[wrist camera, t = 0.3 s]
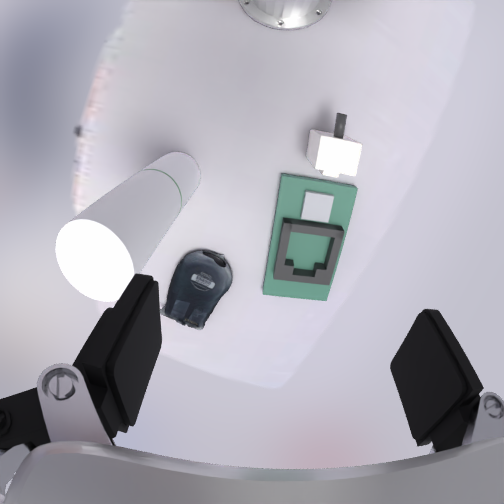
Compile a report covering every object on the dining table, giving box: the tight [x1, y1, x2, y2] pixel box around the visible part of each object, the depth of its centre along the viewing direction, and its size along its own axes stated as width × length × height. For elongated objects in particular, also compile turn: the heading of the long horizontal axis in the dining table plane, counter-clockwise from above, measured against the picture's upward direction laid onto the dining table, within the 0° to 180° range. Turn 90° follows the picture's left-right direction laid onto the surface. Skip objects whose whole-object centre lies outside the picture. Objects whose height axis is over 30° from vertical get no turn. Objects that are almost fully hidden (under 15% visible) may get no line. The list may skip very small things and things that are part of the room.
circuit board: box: [263, 174, 358, 301], centre depth 45 cm, size 20×11×4 cm, turn 173°
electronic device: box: [160, 251, 232, 330], centre depth 50 cm, size 9×6×15 cm
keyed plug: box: [306, 113, 362, 178], centre depth 35 cm, size 8×5×8 cm, turn 173°
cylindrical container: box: [56, 152, 201, 302], centre depth 31 cm, size 7×7×25 cm
